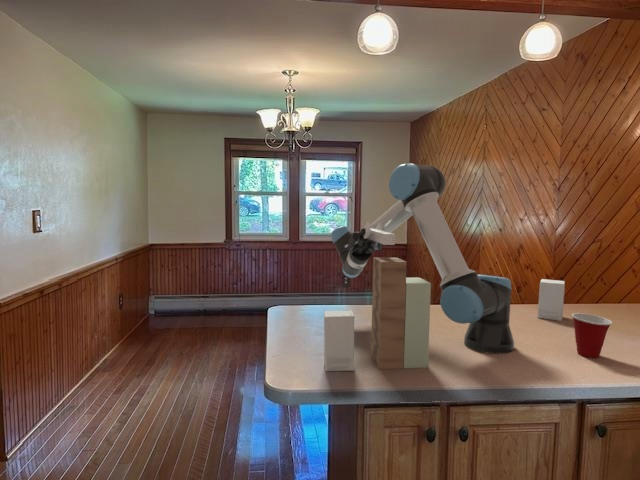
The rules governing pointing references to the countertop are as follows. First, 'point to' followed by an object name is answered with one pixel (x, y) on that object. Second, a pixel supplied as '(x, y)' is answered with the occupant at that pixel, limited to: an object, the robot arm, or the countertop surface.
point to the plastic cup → (590, 333)
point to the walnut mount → (388, 312)
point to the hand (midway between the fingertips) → (374, 226)
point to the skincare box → (339, 340)
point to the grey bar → (381, 237)
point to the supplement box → (551, 299)
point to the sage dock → (416, 323)
